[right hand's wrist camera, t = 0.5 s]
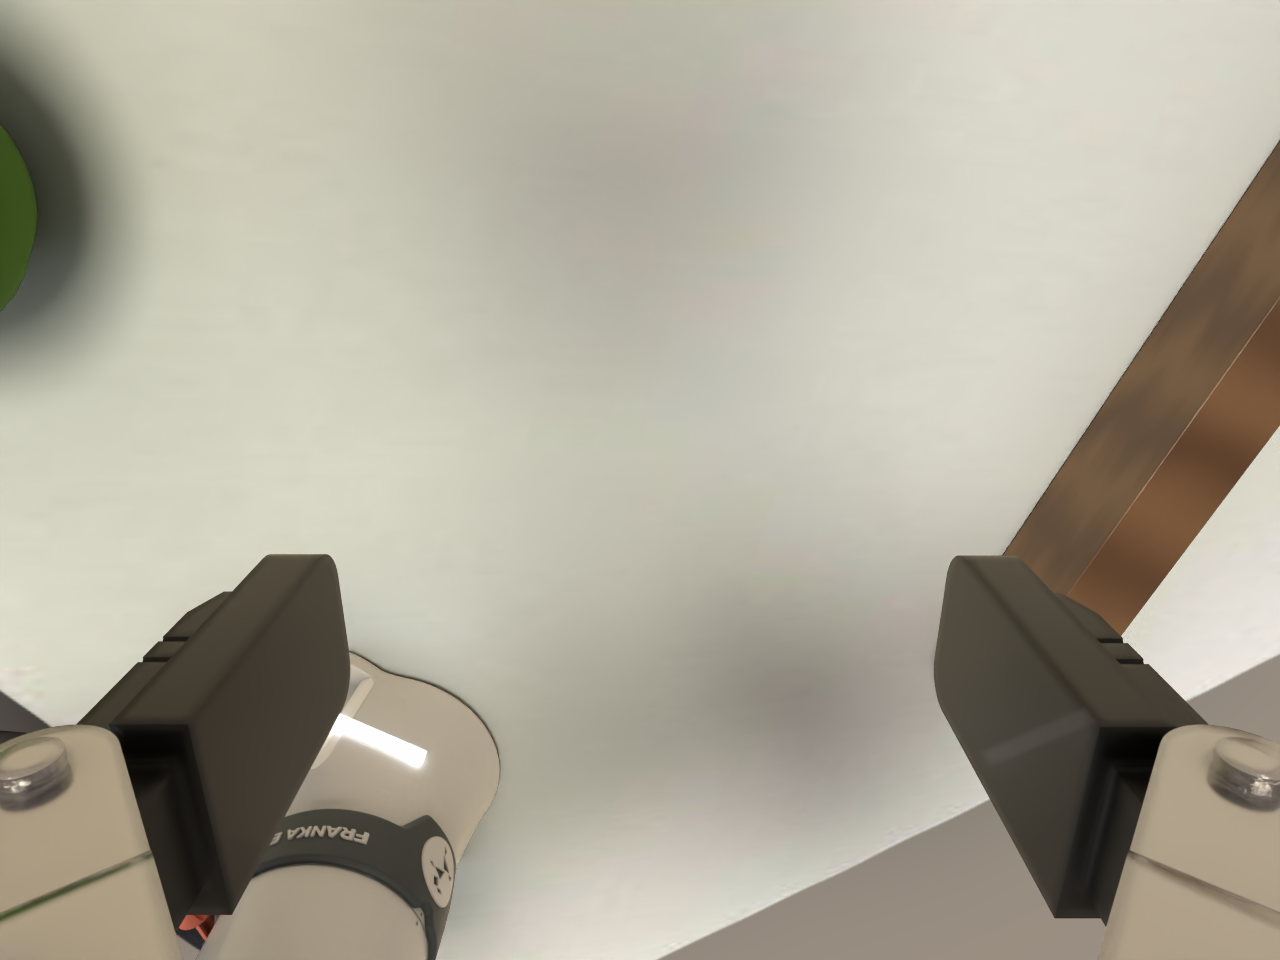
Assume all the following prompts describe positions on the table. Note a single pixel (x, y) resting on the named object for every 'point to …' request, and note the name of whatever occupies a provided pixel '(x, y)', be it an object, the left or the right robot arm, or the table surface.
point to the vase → (14, 218)
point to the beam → (1171, 426)
